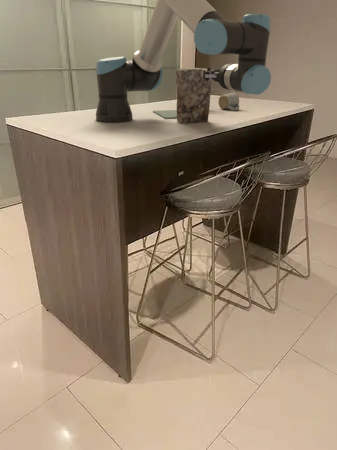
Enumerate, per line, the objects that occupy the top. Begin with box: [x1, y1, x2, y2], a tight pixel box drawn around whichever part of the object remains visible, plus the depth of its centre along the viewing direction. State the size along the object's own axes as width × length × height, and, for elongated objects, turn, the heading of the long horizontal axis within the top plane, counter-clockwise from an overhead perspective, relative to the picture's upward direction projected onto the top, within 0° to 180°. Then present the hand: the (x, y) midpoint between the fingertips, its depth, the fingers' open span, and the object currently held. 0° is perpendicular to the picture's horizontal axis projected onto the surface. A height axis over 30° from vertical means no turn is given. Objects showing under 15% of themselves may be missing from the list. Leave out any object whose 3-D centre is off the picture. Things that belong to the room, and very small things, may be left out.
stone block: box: [175, 67, 212, 124], centre depth 135 cm, size 13×7×20 cm, turn 120°
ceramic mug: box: [218, 92, 240, 112], centre depth 170 cm, size 11×8×8 cm
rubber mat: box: [152, 109, 177, 120], centre depth 156 cm, size 18×20×1 cm
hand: (204, 73), depth 124 cm, fingers closed
